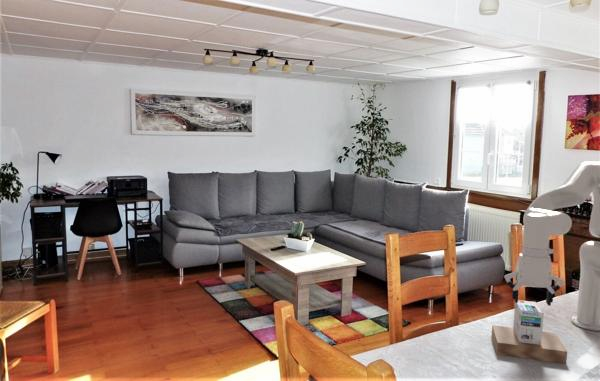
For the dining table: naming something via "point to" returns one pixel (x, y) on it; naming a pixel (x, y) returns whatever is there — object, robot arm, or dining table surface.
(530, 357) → the block
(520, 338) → the light bulb box
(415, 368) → the dining table surface
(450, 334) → the dining table surface
